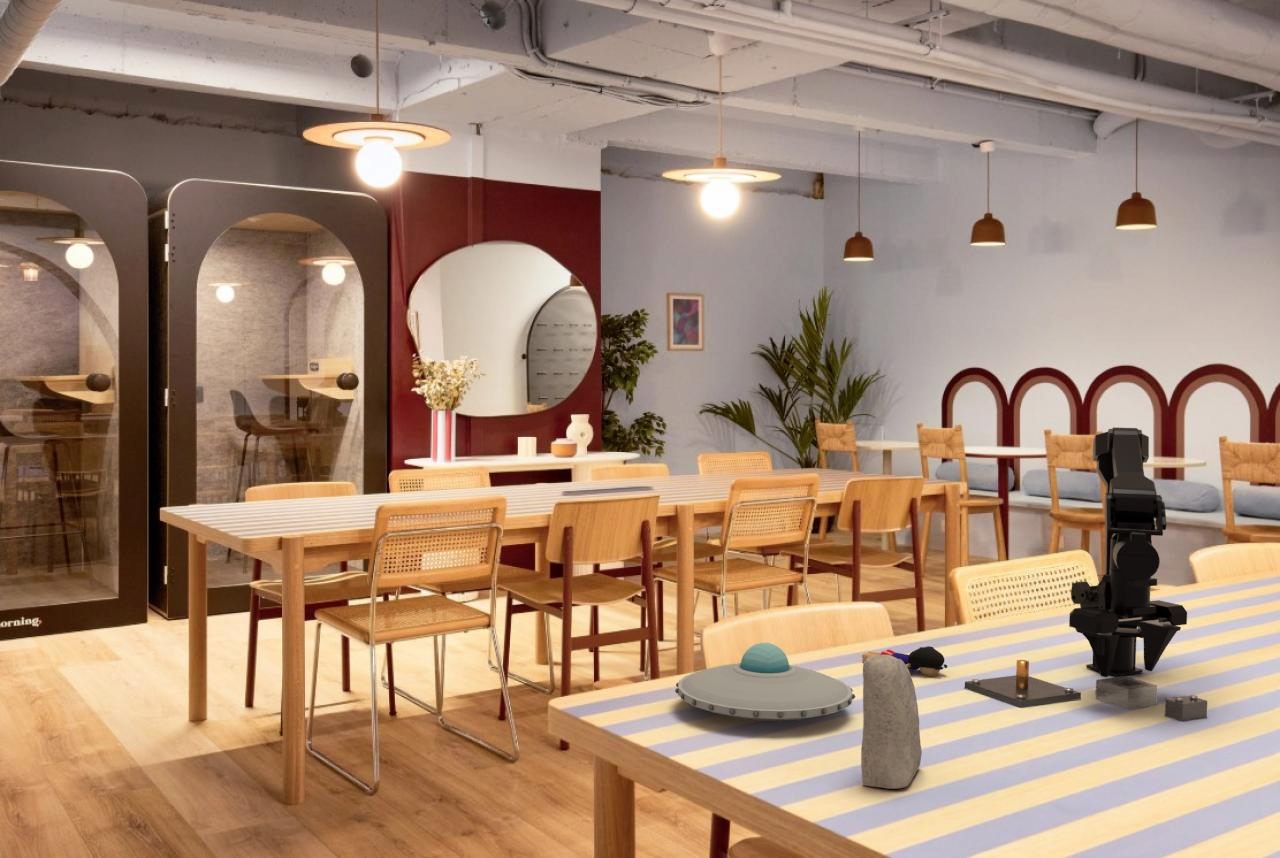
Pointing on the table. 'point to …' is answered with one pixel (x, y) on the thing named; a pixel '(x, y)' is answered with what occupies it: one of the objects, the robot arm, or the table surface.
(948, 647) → the table surface
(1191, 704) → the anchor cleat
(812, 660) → the table surface
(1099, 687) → the socket
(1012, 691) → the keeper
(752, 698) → the toy
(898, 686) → the decorative stone
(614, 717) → the table surface
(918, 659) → the toy
